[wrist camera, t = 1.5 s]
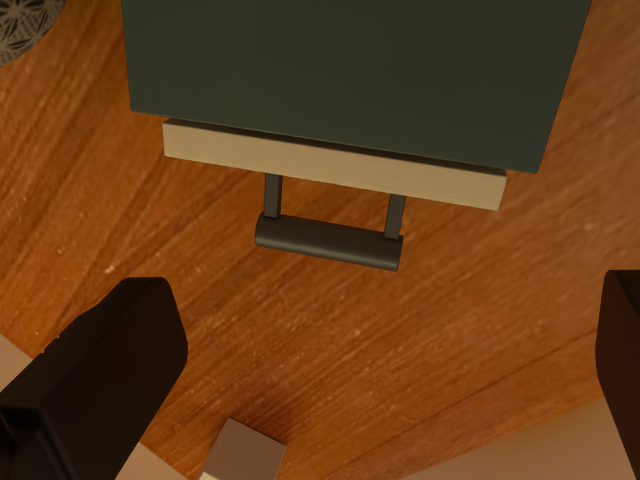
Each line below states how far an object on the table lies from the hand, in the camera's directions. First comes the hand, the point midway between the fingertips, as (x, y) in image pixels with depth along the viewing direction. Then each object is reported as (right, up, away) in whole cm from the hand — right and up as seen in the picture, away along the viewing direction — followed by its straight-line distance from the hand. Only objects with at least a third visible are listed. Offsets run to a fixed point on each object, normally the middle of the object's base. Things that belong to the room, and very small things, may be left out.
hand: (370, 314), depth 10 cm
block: (-6, -14, +28) cm, 32 cm away
